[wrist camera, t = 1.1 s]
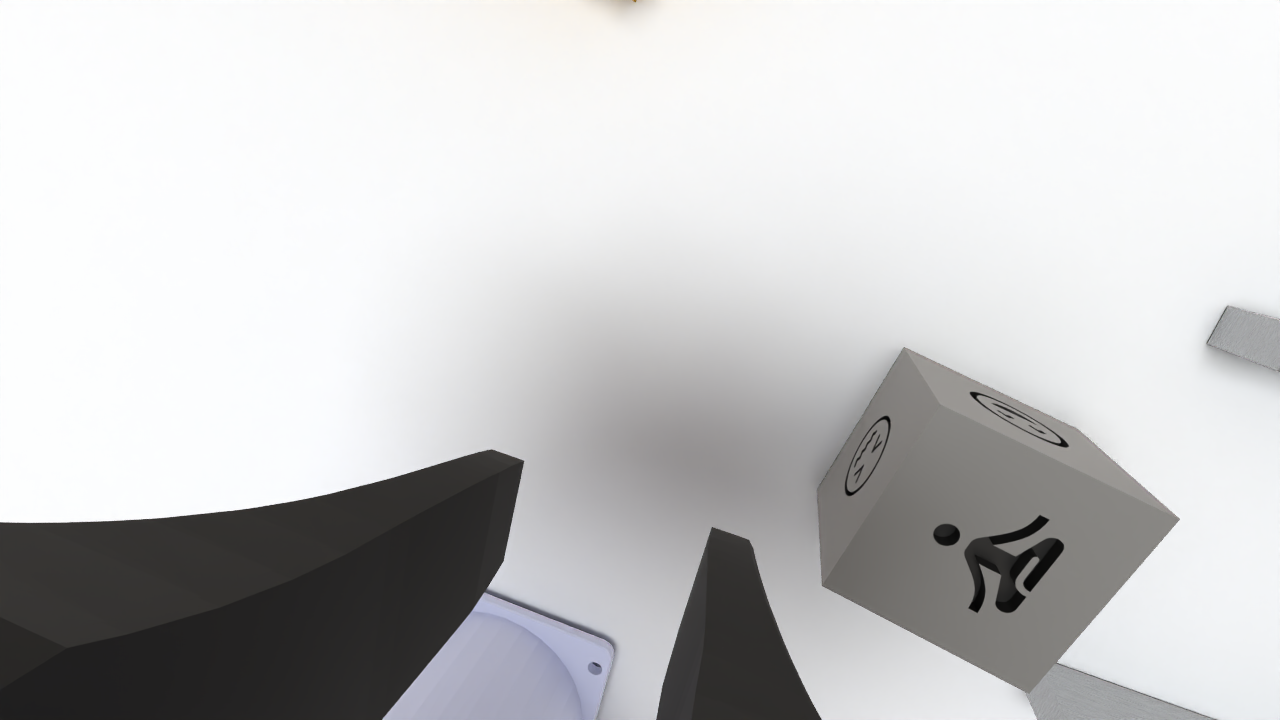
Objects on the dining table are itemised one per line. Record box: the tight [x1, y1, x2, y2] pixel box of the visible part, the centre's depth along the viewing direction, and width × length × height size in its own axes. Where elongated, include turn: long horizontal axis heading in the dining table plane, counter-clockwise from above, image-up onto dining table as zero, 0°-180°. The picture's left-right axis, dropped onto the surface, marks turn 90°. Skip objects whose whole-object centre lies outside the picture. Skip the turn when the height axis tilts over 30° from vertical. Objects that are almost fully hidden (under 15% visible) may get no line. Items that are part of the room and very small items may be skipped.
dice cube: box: [817, 347, 1180, 694], centre depth 16 cm, size 5×5×5 cm
